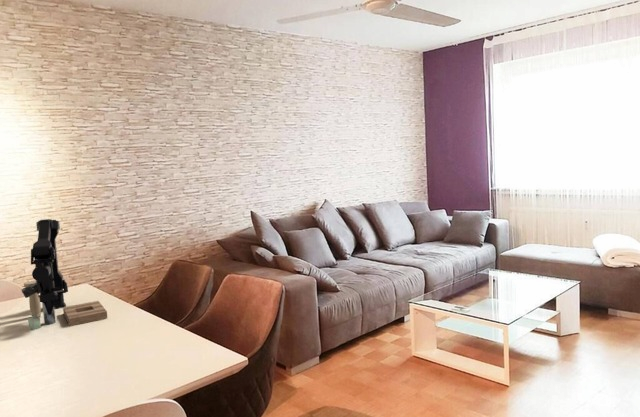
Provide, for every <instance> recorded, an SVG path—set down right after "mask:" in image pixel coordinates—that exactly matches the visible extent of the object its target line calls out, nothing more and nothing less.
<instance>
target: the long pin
mask: <svg viewBox="0 0 640 417" xmlns="http://www.w3.org/2000/svg"><path fill="white" fill-rule="evenodd" d="M41 304H42V306H41V307H42V312H43V314H42V315H43V324H44V325H46V326H47V325H48V326H50V325H53V324H56V322H57V320H56V314H55V313H56V311H55V308H53V310H52V313H51V315H48V313H47V310H46V307H45V304H44V303H42V302H41Z"/></svg>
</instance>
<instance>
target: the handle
mask: <svg viewBox="0 0 640 417" xmlns="http://www.w3.org/2000/svg"><path fill="white" fill-rule="evenodd" d="M34 283H36V280H33V281H26V282H24V283H23V288H25V287H27V286H29V285H31V284H34ZM38 295H40V293H39V294H37V293H35V294H33V295H31V296H30V297H28V298H29V301H28V302H29V303H28V304H29V311H30V314H31V315H30V316H31V318H32V317H41V314H42V313H41V311H42V310H41V309H42V306H41V304H42V303H41V302H40V300H39V297H38Z"/></svg>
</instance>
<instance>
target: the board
mask: <svg viewBox="0 0 640 417" xmlns="http://www.w3.org/2000/svg"><path fill="white" fill-rule="evenodd" d="M62 310H63V315H64V317H65V319H66V321H67V324H68V326H69V327H73V326H77V325H81V324H82V325H83V324H86V323H91V322H96V321H101V320H107V319H108V312H107V310H106V308H105V307H104V306H103V305H102V303H101V302H100V301H99V300H95V301H91V302H90V301H89V302H84V303H78V304H74V305H68V306H67V305H66V306H65V307H62Z"/></svg>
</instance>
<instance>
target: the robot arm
mask: <svg viewBox="0 0 640 417" xmlns="http://www.w3.org/2000/svg"><path fill="white" fill-rule="evenodd" d="M60 229H61V226H60V221H59V220H57V219H49V218H48V219H47V218H45V219H40V220H38V221H36V231H37V232H38V233H37V241H35V242H33V246H32V248H31V249H30V265H31V266H32V265H35V267H34V269H33V270H32V273H31V276H32V278H33V279H34V281H36V283H34V284H31V285H29V286H27V287H23V288H22V289H21V293H22V294H23V296H24V297H25V298H26V299H27V298H29V297H30V296H31V295H33V294H35V293H37V294H39V295H38V297H39V300H40V303H41V304H42V303H44V304H45V307H46V310H47V313H48V315H51V313H52V310H53V308H54V309H60V308H63V307H67V304H66V302H65V298H64V297H65V296H64V294H66V293H68V292H69V288H68V283H67V282H66V279H64V275H63V274H62V272H60V270H59V263H58V262H59V261H58V252H57V240H56V239H57V236H58V235H59V233H60V231H59V230H60Z"/></svg>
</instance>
